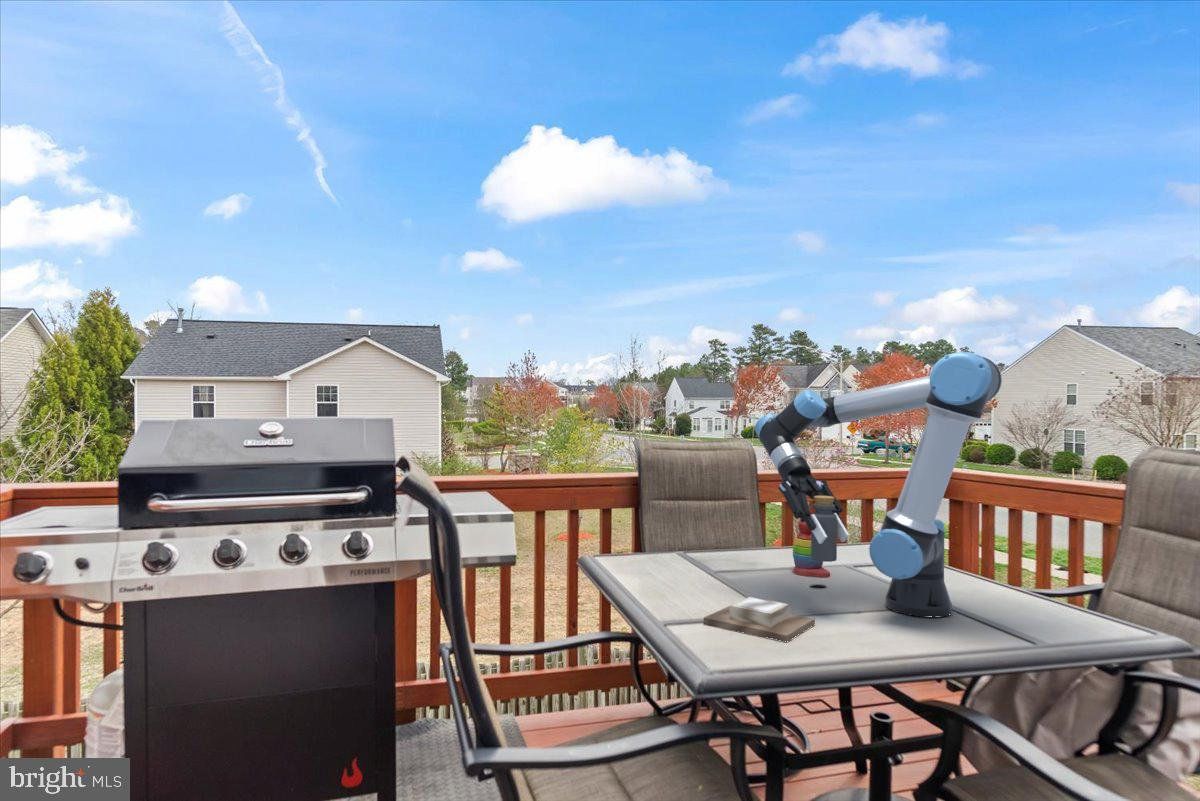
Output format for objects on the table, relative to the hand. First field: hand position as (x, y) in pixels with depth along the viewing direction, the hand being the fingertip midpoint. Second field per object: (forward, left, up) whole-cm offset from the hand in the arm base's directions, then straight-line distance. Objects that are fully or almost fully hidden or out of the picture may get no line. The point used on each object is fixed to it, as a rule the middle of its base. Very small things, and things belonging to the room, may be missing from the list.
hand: (834, 539), depth 164 cm
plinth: (+12, +14, -19) cm, 27 cm away
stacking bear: (+23, -45, -19) cm, 54 cm away
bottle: (+3, -2, -6) cm, 7 cm away
